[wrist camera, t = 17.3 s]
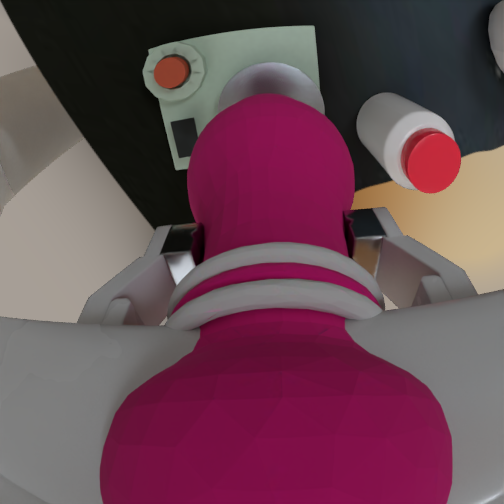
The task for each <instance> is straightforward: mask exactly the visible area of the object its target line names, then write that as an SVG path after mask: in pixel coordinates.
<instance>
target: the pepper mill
mask: <svg viewBox="0 0 504 504" xmlns="http://www.w3.org/2000/svg"><path fill="white" fill-rule="evenodd" d="M187 187H188V195H189V201H190V207H191V210H192V213H193V216H194V218H195V221H196V223H199V222H201V223H202V224H203V226H204V250H205V254H204V261H203V263H201V264H200V265H198V266H196V267H195V268H193V269H192V270H191V271H190V272H189V273H188V274H187V275H186V276H185V277H184V278H183V279H182V280H181V281H180V282H179V283H178V285H177V286H176V287H175V289H174V291H173V293H172V296H171V298H170V301H169V305H168V312H167V318H168V320H167V322H166V323H165V325H164V326H167V327H170V328H172V329H174V330H180V331H188V330H192V329H194V328H197V327H200V338H199V340H198V341H197V343H196V345H195V347H194V349H193V351H192V352H190V353H189V354H187V355H185V356H183V357H182V358H181V359H180V360H179V361H178V362H176V363H175V364H173V365H172V366H170V367H168V368H166V369H165V370H163V371H161V372H160V373H158V374H156V375H154V376H153V377H151V378H150V379H149V380H147V381H146V382H145V383H143V384H142V385H140V386H139V387H138V388H136V389H135V390H134V391H133V392H131V393H130V394H129V395H128V396H127V397H126V398H125V400H124V401H123V403H122V404H121V406H120V407H119V408H118V410H117V411H116V413H115V415H114V418H113V421H112V424H111V426H110V429H109V432H108V435H107V438H106V441H105V444H104V447H103V452H102V458H101V464H100V493H101V497H102V501H103V504H447V501H448V497H449V494H450V490H451V486H452V472H453V457H452V436H451V433H450V430H449V427H448V424H447V421H446V418H445V415H444V412H443V409H442V407H441V405H440V403H439V402H438V400H437V399H436V397H435V396H434V395H433V393H432V392H431V390H430V389H429V388H428V387H427V386H426V385H425V384H424V383H422V382H421V381H420V380H419V379H417V378H416V377H415V376H413V375H412V374H411V373H409V372H408V371H406V370H404V369H402V368H400V367H398V366H396V365H394V364H392V363H390V362H388V361H386V360H384V359H382V358H380V357H377V356H375V355H373V354H371V353H369V352H368V351H366V350H365V349H364V348H362V347H361V346H360V345H359V344H357V343H356V342H355V341H354V340H353V339H352V337H351V336H350V335H349V334H348V332H347V331H346V330H345V319H346V318H348V319H355V320H365V319H369V318H372V317H374V316H376V315H377V314H379V313H381V312H382V311H385V303H384V297H383V294H382V292H381V290H380V287H379V285H378V283H377V282H376V280H375V279H374V278H373V276H372V275H371V274H370V273H369V272H368V271H367V270H366V269H364V268H363V267H362V266H360V265H359V264H358V263H357V262H355V261H354V260H353V259H351V258H349V256H348V250H347V245H346V240H345V226H344V217H343V211H347V210H350V209H351V206H352V203H353V198H354V192H355V180H354V166H353V162H352V159H351V156H350V153H349V150H348V148H347V146H346V144H345V142H344V140H343V138H342V136H341V134H340V133H339V131H338V130H337V128H336V127H335V126H334V124H333V123H332V122H331V121H330V120H329V119H328V118H327V117H326V116H324V115H323V114H322V113H320V112H319V111H318V110H316V109H315V108H313V107H311V106H309V105H307V104H305V103H303V102H300V101H297V100H295V99H293V98H290V97H288V96H284V95H281V94H272V93H265V94H256V95H253V96H250V97H247V98H245V99H243V100H241V101H239V102H237V103H235V104H233V105H231V106H229V107H228V108H226V109H224V110H223V111H221V112H220V113H218V114H217V115H216V116H215V117H214V118H213V119H212V120H211V121H210V122H209V123H208V124H207V125H206V126H205V128H204V129H203V131H202V132H201V133H200V135H199V137H198V139H197V141H196V143H195V145H194V148H193V151H192V154H191V157H190V161H189V166H188V172H187Z"/></svg>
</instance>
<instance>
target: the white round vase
mask: <svg viewBox="0 0 504 504" xmlns="http://www.w3.org/2000/svg"><path fill="white" fill-rule="evenodd" d="M488 33H489V39H490V45H491V49H492V52H493V54H494V57H495V59H496V62H497V64H498V66H499V67H500V69H501V70H502V71H503V73H504V0H503V1H501V2H500V3H498V4H497V5H495V7H494V9H493V10H492V12H491V14H490V16H489V26H488Z"/></svg>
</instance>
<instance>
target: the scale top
mask: <svg viewBox="0 0 504 504" xmlns="http://www.w3.org/2000/svg"><path fill="white" fill-rule="evenodd" d="M265 93H272V94H281V95H284V96H288V97H290V98H293V99H295V100H297V101H300V102H303V103H305V104H307V105H309V106H311V107H313V108H315V109H316V110H318V111H319V112H320V113H322V114H323V115H324V114H325V109H324V102H323V98H322V95H321V93H320V91H319V89H318V87H317V86H316V84H315V83H314V82H313V81H312V79H311V78H310V77H308V76H307V75H306V74H305V73H304V72H302V71H301V70H299V69H297V68H295V67H293V66H290V65H288V64H284V63H279V62H262V63H257V64H254V65H250V66H248V67H246V68H244V69H242V70H241V71H239V72H238V73H236V74H235V75H234V76H233V77H232V78H231V79H230V80H229V81H228V82H227V84H226V85H225V87H224V88H223V90H222V92H221V95H220V98H219V102H218V110H217V114H218V113H220V112H221V111H223V110H224V109H226V108H228V107H229V106H231V105H233V104H235V103H237V102H239V101H241V100H243V99H245V98H247V97H250V96H253V95H256V94H265ZM170 123H171V127H172V132H173V136H174V140H175V144H176V148H177V153H178V157H179V158H184V157H190V156H191V154H192V151H193V148H194V145H195V143H196V141H197V139H198V134H197V129H196V124H195V119H194V117H193V118H187V119H182V120H177V121H172V122H170Z"/></svg>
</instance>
